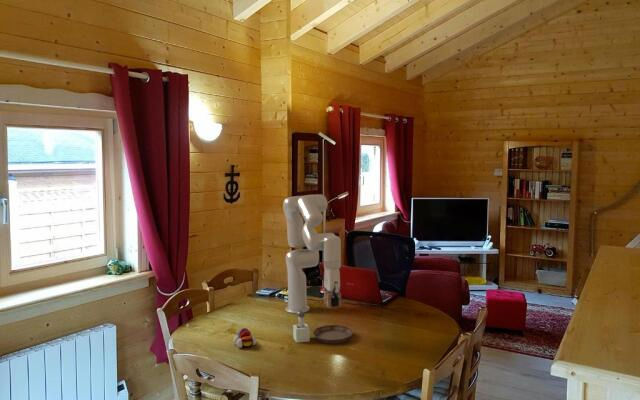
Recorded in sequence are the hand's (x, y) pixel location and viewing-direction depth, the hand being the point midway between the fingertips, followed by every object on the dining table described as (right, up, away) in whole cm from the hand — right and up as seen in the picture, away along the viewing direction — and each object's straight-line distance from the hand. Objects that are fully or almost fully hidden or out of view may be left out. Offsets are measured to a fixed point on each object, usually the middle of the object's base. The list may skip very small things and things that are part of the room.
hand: (332, 303), depth 234 cm
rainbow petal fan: (-38, -17, -5) cm, 42 cm away
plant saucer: (0, -16, +2) cm, 16 cm away
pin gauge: (-14, -16, 0) cm, 21 cm away
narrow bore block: (0, -1, 0) cm, 1 cm away
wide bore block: (-14, -16, 0) cm, 21 cm away
